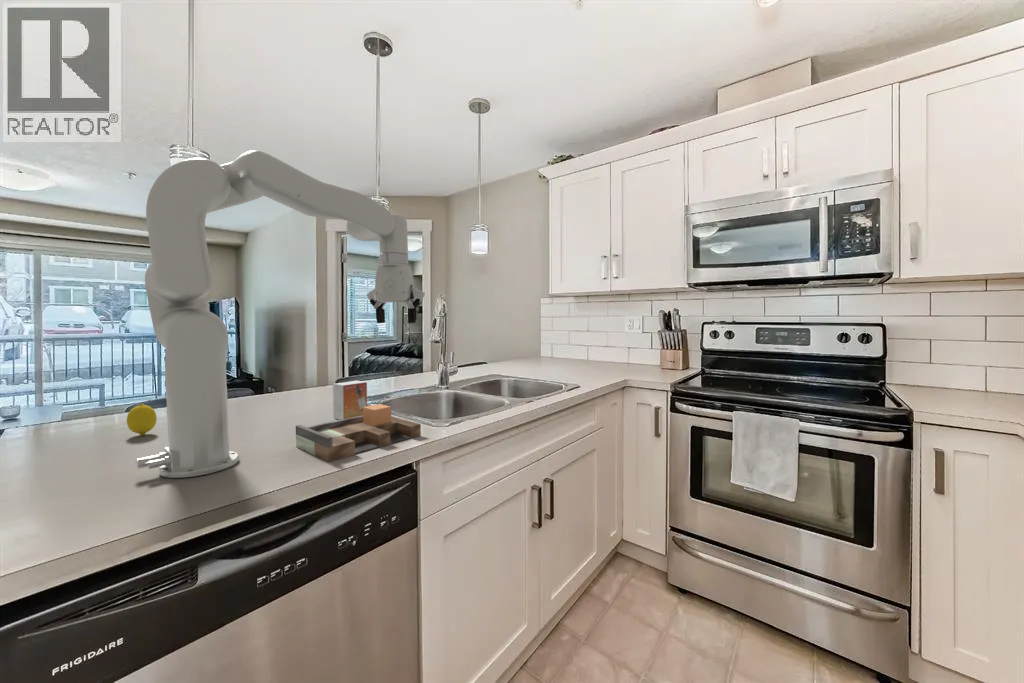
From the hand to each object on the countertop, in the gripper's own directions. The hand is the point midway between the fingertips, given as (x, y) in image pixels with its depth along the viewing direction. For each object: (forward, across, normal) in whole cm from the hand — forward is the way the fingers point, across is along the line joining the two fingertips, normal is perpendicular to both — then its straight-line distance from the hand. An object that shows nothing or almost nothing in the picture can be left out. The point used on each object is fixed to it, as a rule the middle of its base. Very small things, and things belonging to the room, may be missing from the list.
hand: (396, 322), depth 114 cm
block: (+25, 0, -12) cm, 28 cm away
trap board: (+28, 0, -18) cm, 34 cm away
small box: (+28, -17, +1) cm, 33 cm away
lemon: (+27, -56, -28) cm, 68 cm away
